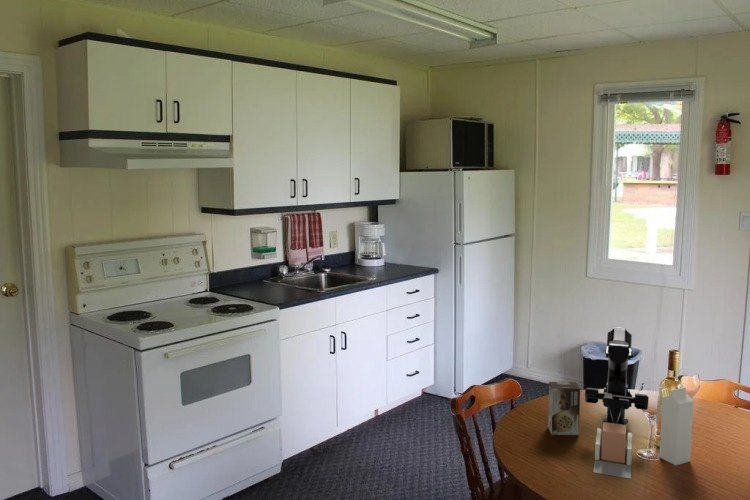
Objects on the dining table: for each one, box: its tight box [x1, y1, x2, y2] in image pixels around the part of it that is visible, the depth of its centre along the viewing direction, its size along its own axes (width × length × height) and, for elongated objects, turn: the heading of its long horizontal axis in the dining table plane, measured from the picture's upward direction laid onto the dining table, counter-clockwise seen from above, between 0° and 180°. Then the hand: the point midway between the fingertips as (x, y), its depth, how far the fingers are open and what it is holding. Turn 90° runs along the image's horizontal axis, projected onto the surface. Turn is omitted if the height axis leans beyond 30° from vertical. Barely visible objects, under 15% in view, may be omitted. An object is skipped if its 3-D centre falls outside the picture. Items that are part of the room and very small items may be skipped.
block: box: [600, 421, 627, 464], centre depth 189 cm, size 7×6×9 cm
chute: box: [593, 427, 633, 480], centre depth 187 cm, size 20×10×5 cm, turn 158°
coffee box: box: [547, 381, 581, 436], centre depth 207 cm, size 9×6×16 cm
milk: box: [658, 387, 695, 466], centre depth 186 cm, size 6×6×22 cm
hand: (614, 423), depth 195 cm, fingers closed
